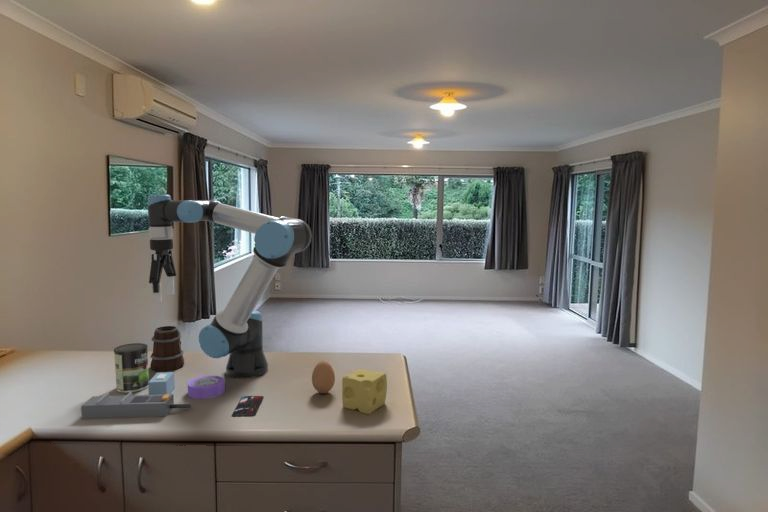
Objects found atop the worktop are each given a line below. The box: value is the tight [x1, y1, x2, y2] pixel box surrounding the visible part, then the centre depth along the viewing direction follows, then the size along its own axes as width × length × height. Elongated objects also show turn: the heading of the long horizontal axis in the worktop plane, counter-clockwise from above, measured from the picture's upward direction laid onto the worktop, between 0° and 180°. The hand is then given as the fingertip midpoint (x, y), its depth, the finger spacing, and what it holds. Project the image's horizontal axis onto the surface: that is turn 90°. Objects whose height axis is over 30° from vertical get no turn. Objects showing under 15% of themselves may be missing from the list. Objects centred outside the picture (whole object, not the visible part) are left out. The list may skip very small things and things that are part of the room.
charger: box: [147, 371, 176, 395], centre depth 169 cm, size 6×9×6 cm, turn 7°
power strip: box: [80, 392, 192, 420], centre depth 155 cm, size 30×7×5 cm, turn 95°
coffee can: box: [113, 342, 150, 394], centre depth 174 cm, size 10×10×14 cm
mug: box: [149, 325, 185, 372], centre depth 197 cm, size 16×12×15 cm
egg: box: [311, 360, 336, 394], centre depth 170 cm, size 8×8×11 cm
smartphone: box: [231, 395, 265, 418], centre depth 160 cm, size 7×1×15 cm
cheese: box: [341, 368, 388, 415], centre depth 160 cm, size 10×11×10 cm
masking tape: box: [187, 375, 226, 400], centre depth 171 cm, size 12×12×4 cm
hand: (164, 297), depth 183 cm, fingers open, 13 cm apart
